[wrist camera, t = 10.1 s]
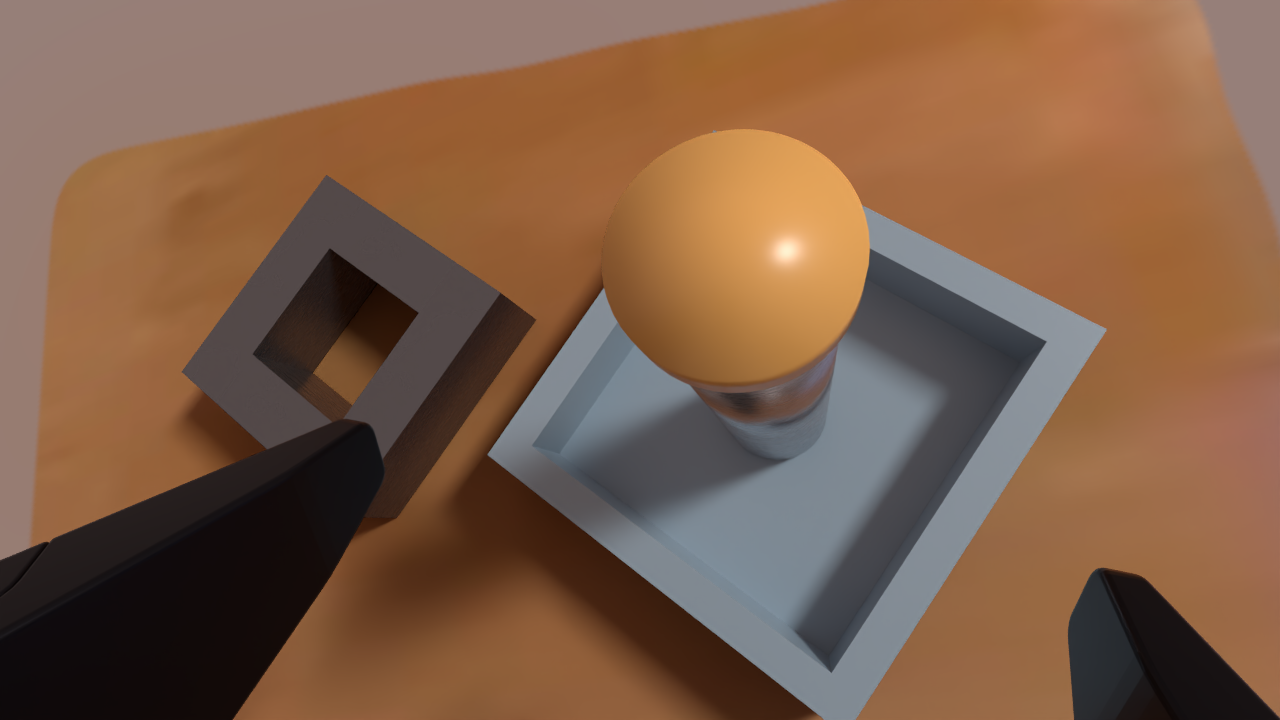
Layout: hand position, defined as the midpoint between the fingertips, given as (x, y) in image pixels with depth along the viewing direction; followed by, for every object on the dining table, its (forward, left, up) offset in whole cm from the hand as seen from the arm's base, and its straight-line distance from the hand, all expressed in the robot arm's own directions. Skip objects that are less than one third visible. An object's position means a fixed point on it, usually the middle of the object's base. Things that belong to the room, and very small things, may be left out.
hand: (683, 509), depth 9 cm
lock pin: (+3, +1, -13) cm, 13 cm away
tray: (+3, +1, -13) cm, 14 cm away
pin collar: (-3, +14, -13) cm, 20 cm away
